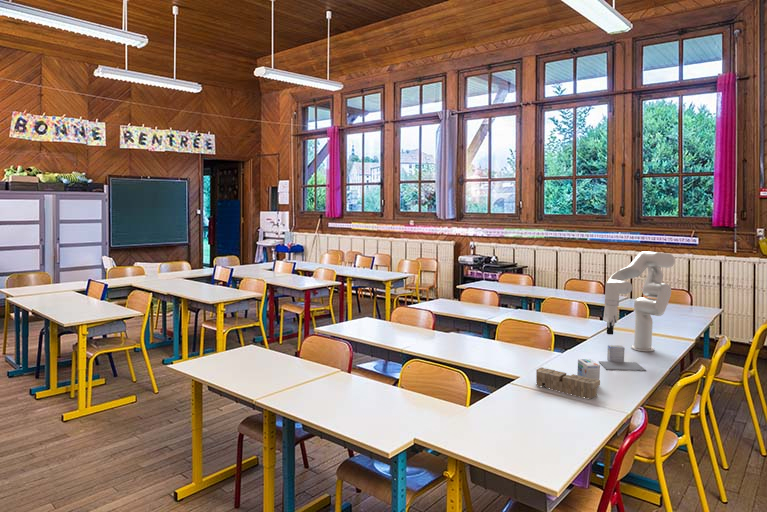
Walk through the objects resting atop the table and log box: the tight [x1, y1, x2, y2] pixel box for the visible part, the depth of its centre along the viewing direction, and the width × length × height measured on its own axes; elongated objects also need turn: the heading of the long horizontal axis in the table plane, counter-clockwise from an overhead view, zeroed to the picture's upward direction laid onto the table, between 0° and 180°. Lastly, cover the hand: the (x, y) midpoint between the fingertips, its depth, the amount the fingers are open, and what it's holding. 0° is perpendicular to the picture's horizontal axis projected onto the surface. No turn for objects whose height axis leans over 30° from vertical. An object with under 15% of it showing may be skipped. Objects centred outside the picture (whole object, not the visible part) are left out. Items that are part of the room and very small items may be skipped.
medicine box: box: [606, 344, 626, 362], centre depth 299 cm, size 8×4×9 cm, turn 84°
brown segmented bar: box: [535, 367, 601, 400], centre depth 252 cm, size 8×8×29 cm
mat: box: [598, 360, 647, 372], centre depth 290 cm, size 14×20×1 cm
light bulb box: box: [576, 358, 601, 380], centre depth 262 cm, size 11×7×11 cm, turn 5°
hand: (609, 334), depth 308 cm, fingers closed
